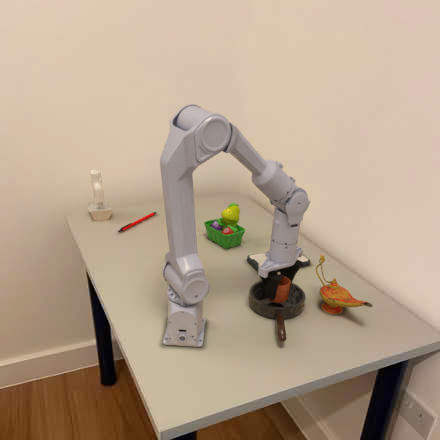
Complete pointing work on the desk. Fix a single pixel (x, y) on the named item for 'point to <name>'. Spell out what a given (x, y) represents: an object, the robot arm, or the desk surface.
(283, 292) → the terracotta cup
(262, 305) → the pan
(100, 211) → the figurine
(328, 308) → the magic lamp
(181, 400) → the desk surface
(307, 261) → the phone case
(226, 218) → the fruit basket
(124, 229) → the pen
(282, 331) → the pan handle
